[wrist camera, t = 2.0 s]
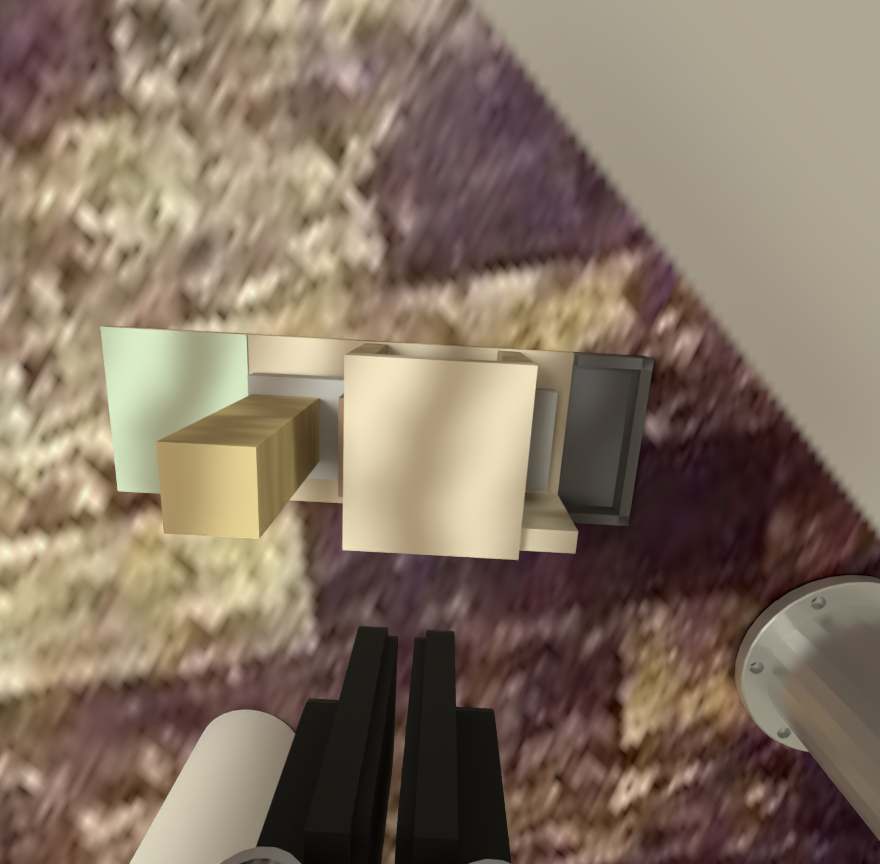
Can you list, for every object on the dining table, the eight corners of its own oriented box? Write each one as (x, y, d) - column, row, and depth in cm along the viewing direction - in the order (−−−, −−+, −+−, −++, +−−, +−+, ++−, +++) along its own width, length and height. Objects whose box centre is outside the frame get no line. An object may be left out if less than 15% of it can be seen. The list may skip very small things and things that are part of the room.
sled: (553, 389, 29) (612, 440, 19) (543, 484, 30) (592, 581, 20) (254, 372, 29) (147, 413, 19) (258, 468, 30) (160, 557, 20)
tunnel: (644, 355, 29) (697, 372, 23) (619, 515, 32) (662, 569, 25) (107, 325, 29) (13, 334, 23) (123, 487, 32) (43, 535, 25)
